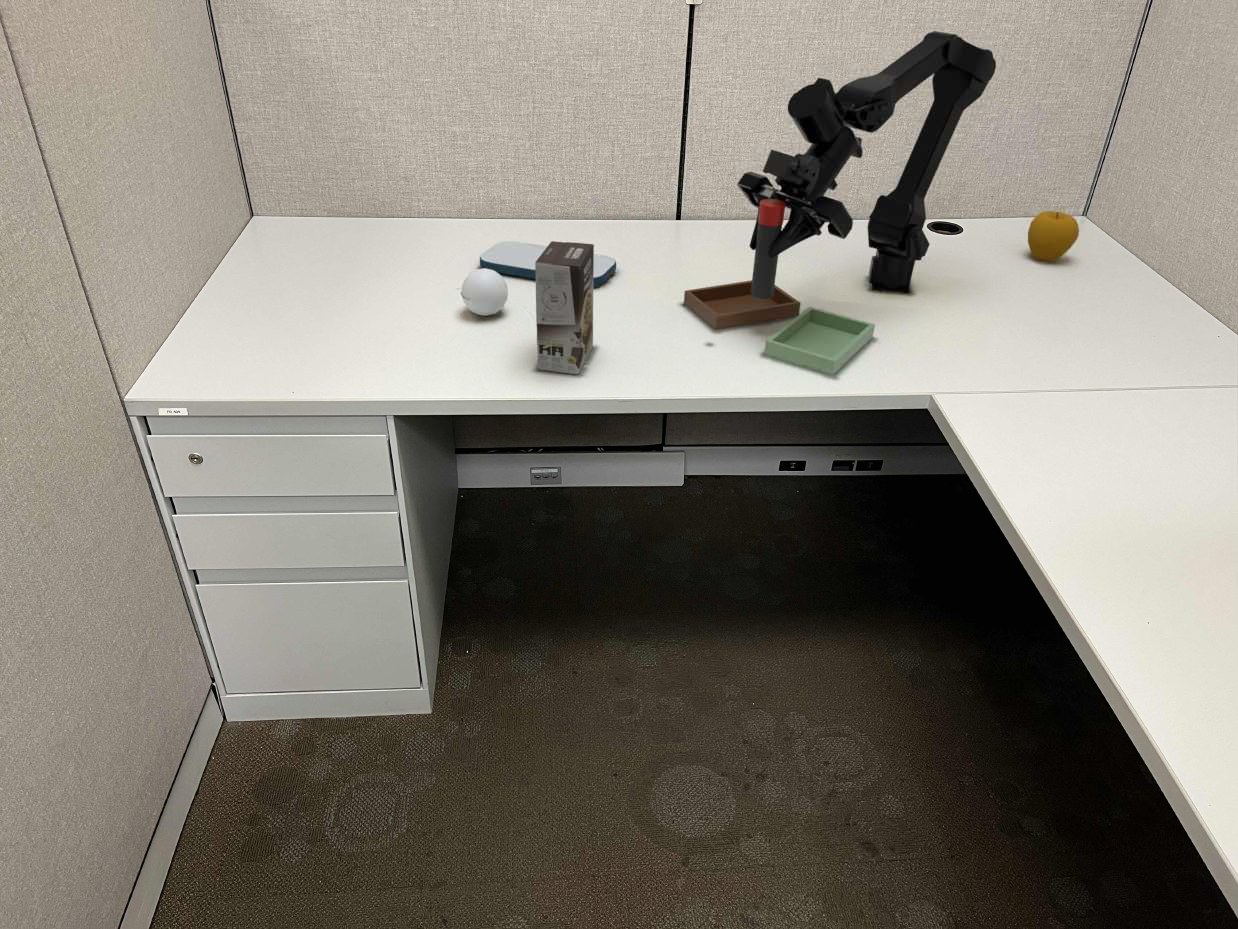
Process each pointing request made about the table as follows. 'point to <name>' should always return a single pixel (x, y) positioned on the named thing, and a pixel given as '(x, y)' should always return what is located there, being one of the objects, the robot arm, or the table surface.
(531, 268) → the blue white rounded slab
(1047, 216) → the apple
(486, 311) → the white rounded piece
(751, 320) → the walnut tray
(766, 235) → the thermos
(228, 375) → the table surface
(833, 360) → the green tray
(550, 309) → the coffee box
